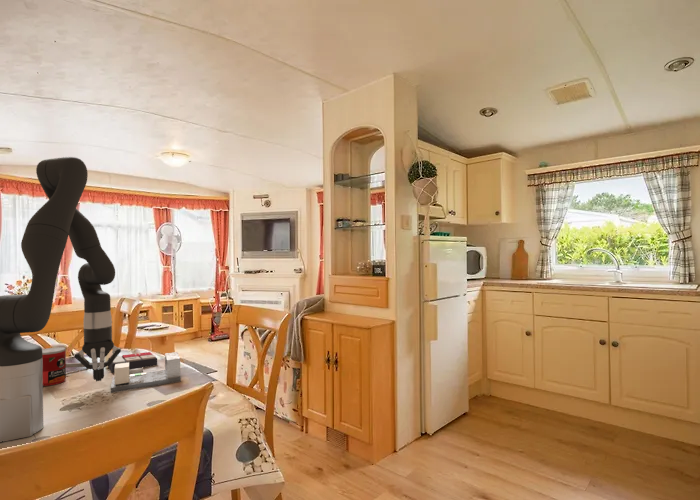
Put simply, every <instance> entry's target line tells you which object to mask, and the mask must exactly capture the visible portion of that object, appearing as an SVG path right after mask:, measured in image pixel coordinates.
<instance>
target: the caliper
mask: <svg viewBox="0 0 700 500" xmlns="http://www.w3.org/2000/svg"><path fill="white" fill-rule="evenodd" d="M90 363H91V364H92V362H90ZM99 364H100V361H99V362H98V367H99ZM68 368H71V369H72V368H86V367H85V366H84V365H82V364H81V363H80V362H69V363H68V362H66V369H68Z"/></svg>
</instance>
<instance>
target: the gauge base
mask: <svg viewBox="0 0 700 500" xmlns="http://www.w3.org/2000/svg"><path fill="white" fill-rule="evenodd" d="M164 361H165V362H164V367H165V369H162V370H155V371H148V372H143V373H137V374H131V375H129V383H122V384H116V385H115V376H114V377H112V379H111V384H110V393H111V394H112V393H119V392H124V391H125V392H126V391H129V390H130V391H131V390H137V389H143V388H149V387H156V386H162V385H167V384H168V385H169V384H173V383H180V382H182V377H181V356H180V354H179V352H178V351H175V352H166V353H164Z"/></svg>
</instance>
